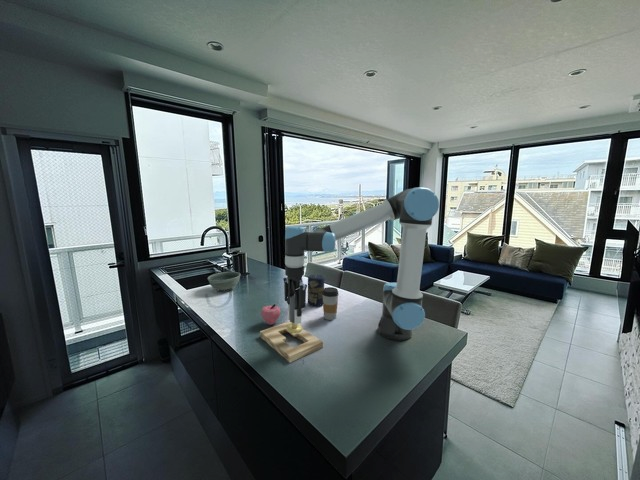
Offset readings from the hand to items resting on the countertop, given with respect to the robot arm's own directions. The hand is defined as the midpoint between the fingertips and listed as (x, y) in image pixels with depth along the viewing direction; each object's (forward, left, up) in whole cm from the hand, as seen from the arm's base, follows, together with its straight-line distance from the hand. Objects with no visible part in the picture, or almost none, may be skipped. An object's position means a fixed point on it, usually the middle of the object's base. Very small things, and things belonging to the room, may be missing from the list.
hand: (294, 321), depth 107 cm
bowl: (+87, -2, -11) cm, 88 cm away
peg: (0, 0, -4) cm, 4 cm away
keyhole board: (+4, 0, -11) cm, 12 cm away
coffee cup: (+11, -29, -11) cm, 33 cm away
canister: (+29, -34, -11) cm, 46 cm away
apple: (+24, -2, -11) cm, 26 cm away
